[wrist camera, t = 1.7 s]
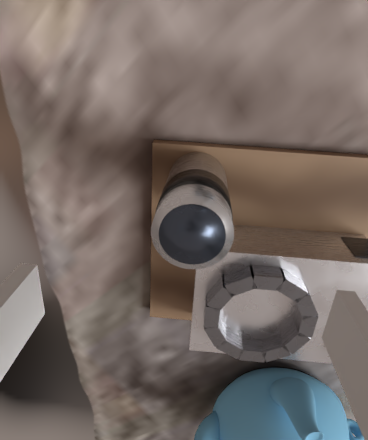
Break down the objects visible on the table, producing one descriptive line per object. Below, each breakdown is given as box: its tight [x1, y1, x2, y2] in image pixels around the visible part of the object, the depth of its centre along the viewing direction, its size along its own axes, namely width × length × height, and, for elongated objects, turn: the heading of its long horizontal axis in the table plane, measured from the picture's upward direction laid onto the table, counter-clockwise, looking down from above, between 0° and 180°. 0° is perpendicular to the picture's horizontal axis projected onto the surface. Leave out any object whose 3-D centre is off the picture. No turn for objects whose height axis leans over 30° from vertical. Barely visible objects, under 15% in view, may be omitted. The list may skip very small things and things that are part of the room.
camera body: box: [189, 224, 368, 364], centre depth 30 cm, size 11×15×6 cm
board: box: [150, 140, 368, 320], centre depth 32 cm, size 19×20×1 cm
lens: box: [151, 152, 234, 269], centre depth 24 cm, size 5×5×10 cm
